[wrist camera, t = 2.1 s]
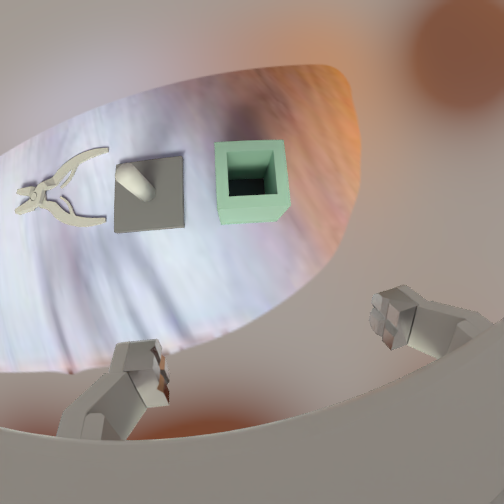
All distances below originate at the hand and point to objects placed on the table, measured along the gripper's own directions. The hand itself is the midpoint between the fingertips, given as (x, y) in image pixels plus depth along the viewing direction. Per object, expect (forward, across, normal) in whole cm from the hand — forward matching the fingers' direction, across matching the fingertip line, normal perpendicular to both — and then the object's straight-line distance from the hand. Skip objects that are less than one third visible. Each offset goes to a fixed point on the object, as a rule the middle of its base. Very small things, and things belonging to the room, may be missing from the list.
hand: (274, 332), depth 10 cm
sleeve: (+23, +3, 0) cm, 23 cm away
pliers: (+27, -20, +4) cm, 34 cm away
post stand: (+25, -7, +2) cm, 26 cm away
